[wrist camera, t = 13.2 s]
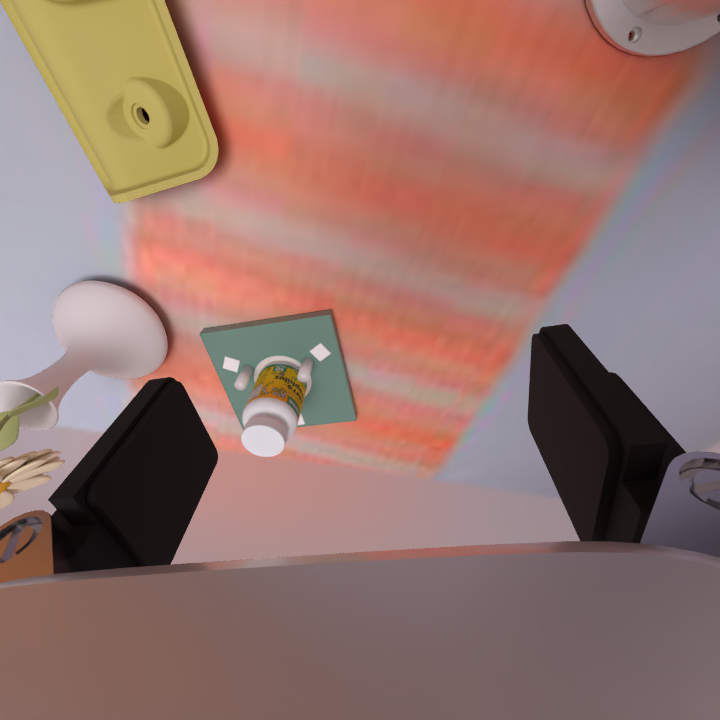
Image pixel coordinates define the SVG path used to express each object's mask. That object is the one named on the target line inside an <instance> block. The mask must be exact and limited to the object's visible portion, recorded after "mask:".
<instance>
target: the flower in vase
mask: <svg viewBox="0 0 720 720" xmlns="http://www.w3.org/2000/svg"><path fill="white" fill-rule="evenodd" d="M52 323H53V327H54V330H55V333H56V336H57V338H58V340H59V342H60V344H61V346H62V347H63V349H64V350H65V351H66V353H65V354H64V356H62V357H61V358H60V359H59V360H58V361H57V362H55V363H54V364H53V365H51V366H50V367H48V368H47V369H45V370H43V371H42V372H40V373H38V374H36V375H34V376H31V377H29V378H26V379H22V380H6V381H1V382H0V451H1V450H3V449H5V448H7V447H9V446H10V445H12V444H13V443H14V442H15V441H16V439H17V437H18V432H19V426H20V427H22V428H25V429H29V430H35V431H44V430H48V429H51V428H53V427H54V426H55V425H56V424H57V421H58V418H59V413H58V408H59V404H60V402H61V399H62V398H63V396H64V395H65V393H66V392H67V391H68V389H69V388H70V387H71V386H72V385H73V384H74V383H75V382H76V381H77V380H78V379H79V378H80V377H81V376H82V375H83V374H85V373H86V372H88V371H92V372H94V373H97V374H99V375H102V376H106V377H111V378H116V379H136V378H140V377H143V376H146V375H148V374H150V373H152V372H154V371H155V370H157V369H158V368H159V367H160V366H161V365H162V363H163V362H164V360H165V358H166V355H167V350H168V340H167V336H166V332H165V329H164V327H163V324H162V322H161V320H160V319H159V317H158V315H157V314H156V313H155V311H154V310H153V309H152V308H151V307H150V306H149V305H148V304H147V303H146V302H145V301H144V300H143V299H141V298H140V297H139V296H137V295H136V294H134V293H133V292H131V291H129V290H127V289H125V288H123V287H120V286H117V285H114V284H111V283H107V282H102V281H94V280H91V281H81V282H77V283H74V284H72V285H70V286H68V287H66V288H65V289H64V290H63V291H62V292H61V293H60V294H59V296H58V298H57V300H56V302H55V304H54V306H53V310H52ZM51 451H52V450H51V449H47V450H42V451H39V452H36V451H34V452H30V453H26V454H23V455H21V456H19V457H17V458H15V459H14V457H8V458H5V459H3V460H0V508H3V507H6V506H8V505H9V504H11V503H12V502H13V501H14V494H15V493H18V492H24V491H27V490H29V489H31V488H33V487H34V486H39V485H42V484H44V483H46V482H48V481H49V480H50V479H51V477H50V476H48V475H43V473H46V472H50V471H53V470H55V469H57V468H59V467H60V466H61V465H62V464H63V463H64V462H65V461H64V460H59V459H60V457H57V455H59V454H60V453H61V452H60V451H52V452H51Z"/></svg>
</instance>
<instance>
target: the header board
mask: <svg viewBox="0 0 720 720" xmlns="http://www.w3.org/2000/svg"><path fill="white" fill-rule="evenodd" d="M200 336H201V338H202V341H203V343H204V345H205V347H206V349H207V352H208V354H209V356H210V358H211V360H212V363H213V365H214V367H215V369H216V371H217V374H218V376H219V378H220V380H221V382H222V385H223V387H224V389H225V391H226V393H227V396H228V398H229V400H230V402H231V404H232V407H233V409H234V411H235V413H236V415H237V418H238V420H239V422H240V424H241V426H242V429H243V430H244V425H243V422H242V414H243V410H244V408H245V405H246V403H247V401H248V399H249V396H250V394H251V392H252V389H253V387H254V385H255V382H256V380H257V378H258V376H259V373H260V372H261V370H262V369H263V368H264V367H265V366H266V365H268V364H269V363H272V362H288V363H291V364H293V365H295V366H297V367H298V368H299V373H298V376H297V378H298V380H299V381H300V382H307V388H306V393H305V397H304V401H303V405H302V409H301V413H300V417H299V421H298V425H297V427H303V426H312V425H321V424H330V423H339V422H348V421H357V412H356V408H355V404H354V399H353V395H352V391H351V387H350V383H349V379H348V375H347V371H346V367H345V363H344V359H343V354H342V350H341V346H340V342H339V338H338V334H337V330H336V326H335V322H334V318H333V313H332V309H331V310H324V311H317V312H311V313H304V314H297V315H291V316H284V317H278V318H271V319H264V320H258V321H251V322H244V323H238V324H231V325H224V326H218V327H211V328H205V329H203V330H202V332H201V333H200Z"/></svg>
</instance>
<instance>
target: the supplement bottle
mask: <svg viewBox="0 0 720 720" xmlns="http://www.w3.org/2000/svg"><path fill="white" fill-rule="evenodd" d="M298 373H299V368H298V367H297V366H295V365H293V364H291V363H288V362H272V363H269V364H268V365H266V366H265V367H264V368H263V369H262V370H261V372H260V373H259V376H258V378H257V380H256V382H255V385H254V387H253V389H252V392H251V394H250V396H249V399H248V401H247V403H246V405H245V408H244V410H243V414H242V422H243V425H244V430H243V432H242V435H241V441H242V444H243V445H244V447H245V448H246V449H247V450H248V451H249V452H251V453H253V454H255V455H258V456H262V457H271V456H275V455H277V454H279V453H280V452H281V451H282V450H283V449H284V447H285V444H286V441H287V439H288V438H289V437H291V436H292V435H293V434H294V432H295V430H296V428H297V425H298V421H299V417H300V413H301V409H302V405H303V401H304V397H305V393H306V388H307V382H300V381H299V380H298V378H297V376H298Z"/></svg>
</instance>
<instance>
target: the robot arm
mask: <svg viewBox="0 0 720 720" xmlns="http://www.w3.org/2000/svg"><path fill="white" fill-rule="evenodd" d="M585 2H586V7H587V9H588V12H589V14H590V16H591V19H592V21H593V23H594V25H595V27H596V28H597V29H598V31H599V32H600V33H601V35H602V36H603V37H604V39H606V40H607V41H608V42H609V43H611V44H612V45H613V46H615V47H616V48H617V49H620V50H622V51H625V52H627V53H629V54H632V55H640V56H648V57H649V56H658V55H667V54H671V53H675V52H680V51H684V50H686V49H688V48H691V47H693V46H696V45H698V44H700V43H703V42H704V41H706V40H708V39H709V38H711V37H712V36H714V35H716V34H717V33H719V32H720V0H585ZM718 14H719V17H718V19H717V16H718ZM629 32H631V34H632V37H631V39H630V40H628V35H629ZM528 424H529V428H530V431H531V434H532V436H533V438H534V440H535V442H536V445H537V447H538V449H539V451H540V453H541V456H542V458H543V460H544V462H545V464H546V467H547V469H548V471H549V473H550V475H551V478H552V480H553V482H554V484H555V486H556V488H557V491H558V493H559V495H560V497H561V499H562V502H563V504H564V506H565V508H566V510H567V513H568V515H569V517H570V519H571V521H572V524H573V526H574V528H575V530H576V532H577V535H578V536H579V539H580V541H578V542H576V541H574V542H573V541H572V542H570V541H566V542H541V543H518V544H495V545H474V546H457V547H440V548H424V549H406V550H389V551H374V552H373V551H372V552H355V553H340V554H323V555H308V556H292V557H277V558H262V559H246V560H232V561H217V562H202V563H187V564H174V565H170V564H171V562H172V560H173V558H174V555H175V553H176V551H177V549H178V547H179V545H180V542H181V540H182V538H183V536H184V534H185V531H186V529H187V527H188V525H189V523H190V521H191V518H192V516H193V514H194V511H195V510H196V507H197V505H198V503H199V501H200V499H201V497H202V494H203V492H204V490H205V488H206V486H207V483H208V481H209V479H210V477H211V475H212V473H213V470H214V468H215V466H216V464H217V460H218V453H217V450H216V448H215V446H214V444H213V442H212V440H211V438H210V436H209V434H208V432H207V430H206V428H205V427H204V425H203V423H202V421H201V419H200V417H199V415H198V413H197V411H196V409H195V407H194V405H193V403H192V402H191V400H190V398H189V396H188V394H187V392H186V390H185V388H184V386H183V385H182V383H180V382H178V381H176V380H175V379H174V378H171V377H168V378H161V379H153V380H149V381H148V382H147V383H146V384H145V385H144V387H143V388H142V389H141V390H140V391H139V392H138V394H137V395H136V396H135V397H134V398H133V400H132V401H131V402H130V403H129V404H128V406H127V407H126V408H125V409H124V410H123V411H122V413H121V414H120V415H119V416H118V417H117V419H116V420H115V421H114V422H113V423H112V424H111V426H110V427H109V428H108V429H107V430H106V432H105V433H104V434H103V435H102V436H101V438H100V439H99V440H98V441H97V442H96V443H95V445H94V446H93V447H92V448H91V449H90V451H89V452H88V453H87V454H86V455H85V457H84V458H83V459H82V460H81V461H80V463H79V464H78V465H77V466H76V467H75V468H74V470H73V471H72V472H71V473H70V474H69V475H68V477H67V478H66V479H65V480H64V481H63V483H62V484H61V485H60V486H59V487H58V489H57V490H56V491H55V492H54V493H53V494H52V496H51V497H50V498H49V499H48V500H49V501H50V502H51V503H52V504H53V505H54V507H56V509H57V510H56V511H55V512H54V514H53V515H52V516H51V515H50V514H49V513H48V512H45V511H43V510H36V511H31V512H28V513H24V514H22V515H20V516H18V517H15V518H13V519H11V520H10V521H8V522H7V523H5V524H3V525H2V526H0V720H720V454H717V453H713V452H698V451H696V452H690V453H686V452H685V451H684V450H683V449H682V447H681V446H680V445H679V444H678V443H677V442H676V441H675V439H674V438H673V437H672V436H671V435H670V434H669V433H668V431H667V430H666V429H665V428H664V427H663V426H662V424H661V423H660V422H659V421H658V420H657V419H656V418H655V416H654V415H653V414H652V413H651V412H650V411H649V410H648V408H647V407H646V406H645V405H644V404H643V403H642V402H641V400H640V399H639V398H638V397H637V396H636V395H635V394H634V392H633V391H632V390H631V389H630V388H629V387H628V386H627V384H626V383H625V382H624V381H623V380H622V379H621V378H620V377H619V376H618V375H617V374H616V373H612V372H610V373H609V372H608V371H607V370H606V368H605V367H604V366H603V365H602V364H601V363H600V361H599V360H598V359H597V358H596V357H595V356H594V354H593V353H592V352H591V351H590V350H589V348H588V347H587V346H586V345H585V344H584V343H583V341H582V340H581V339H580V338H579V337H578V335H577V334H576V333H575V332H574V331H573V330H572V328H571V327H570V326H569V325H568V324H562V325H555V326H548V327H542V328H541V329H540V332H539V334H534V335H533V337H532V346H531V365H530V384H529V404H528Z"/></svg>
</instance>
